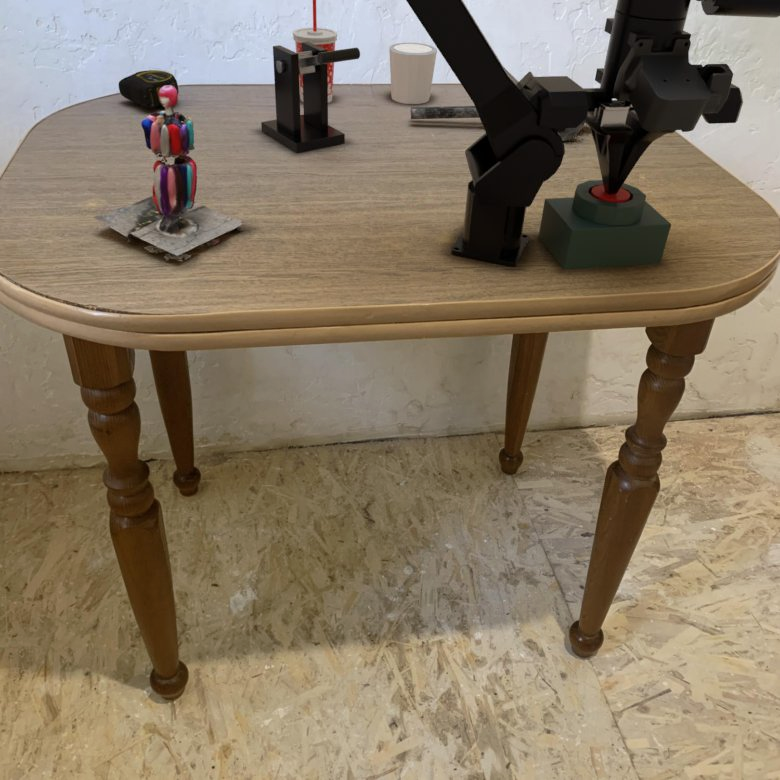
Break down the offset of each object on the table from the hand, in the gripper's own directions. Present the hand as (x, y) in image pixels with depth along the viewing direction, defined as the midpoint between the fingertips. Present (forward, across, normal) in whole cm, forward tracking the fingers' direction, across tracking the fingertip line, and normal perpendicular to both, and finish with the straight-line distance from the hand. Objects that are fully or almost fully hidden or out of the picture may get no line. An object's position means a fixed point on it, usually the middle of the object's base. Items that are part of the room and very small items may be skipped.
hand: (610, 192), depth 73 cm
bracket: (+6, -25, +35) cm, 43 cm away
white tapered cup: (+6, -8, +50) cm, 51 cm away
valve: (+6, +3, +38) cm, 39 cm away
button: (+2, 0, 0) cm, 2 cm away
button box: (+6, 0, 0) cm, 6 cm away
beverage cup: (+6, -22, +50) cm, 55 cm away
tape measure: (+6, -45, +49) cm, 67 cm away
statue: (+6, -41, +9) cm, 43 cm away
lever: (-3, -24, +31) cm, 39 cm away
